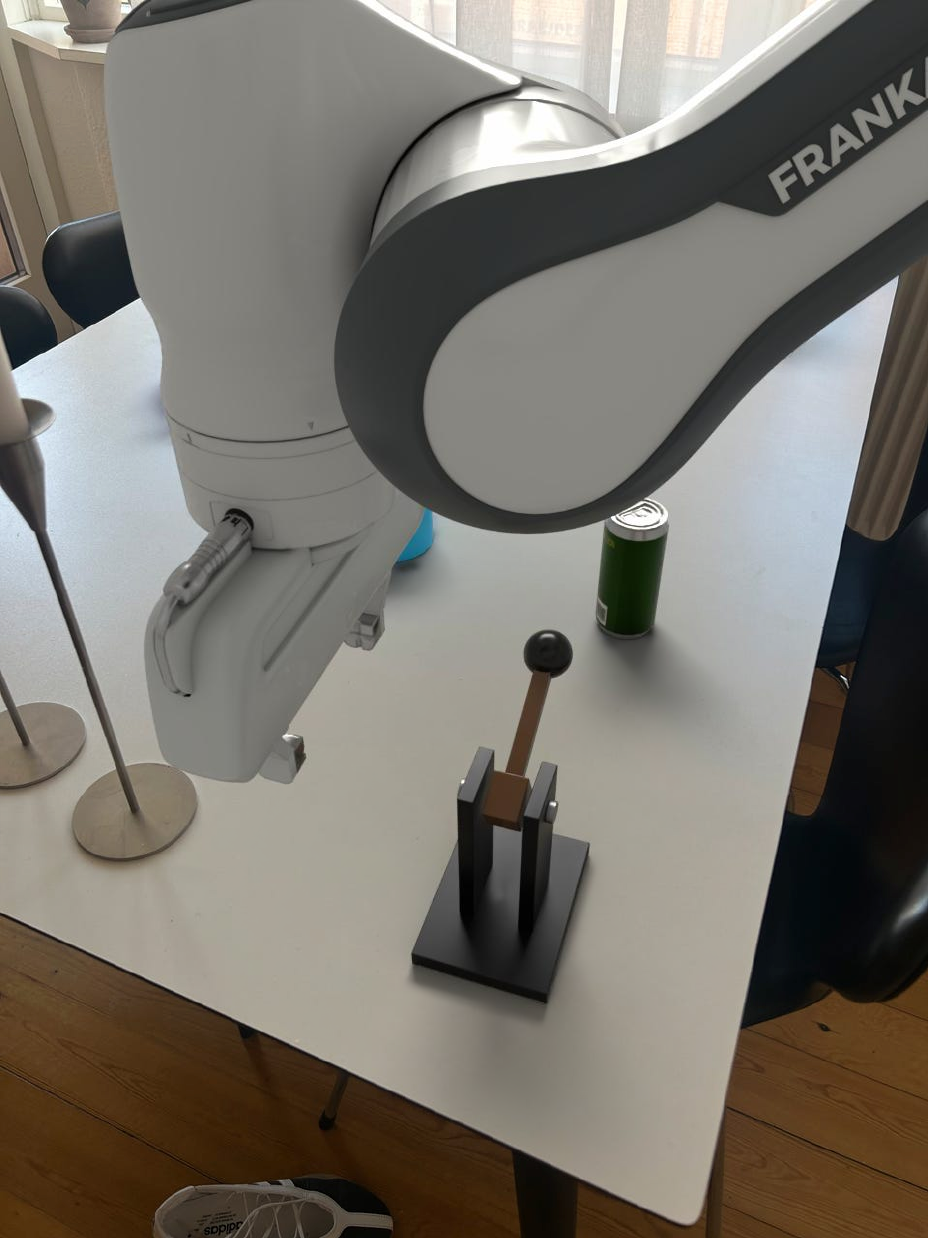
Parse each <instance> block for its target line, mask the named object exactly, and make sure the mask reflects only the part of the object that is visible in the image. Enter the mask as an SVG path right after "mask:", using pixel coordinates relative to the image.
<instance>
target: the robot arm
mask: <svg viewBox="0 0 928 1238" xmlns="http://www.w3.org/2000/svg"><path fill="white" fill-rule="evenodd" d="M103 63H104V65H103V97H104V98H103V99H104V110H105V111H104V112H105V122H106V130H107V140H108V147H109V154H110V160H111V168H112V174H113V180H114V187H115V193H116V197H117V203H118V209H119V215H120V219H121V224H122V229H123V230H122V231H123V234H124V239H125V245H126V249H127V254H128V260H129V263H130V268H131V273H132V276H133V281H134V286H135V288H136V291H137V293H138V295H139V298H140V300H141V302H142V303H143V305H144V307H145V308H146V311H147V312H148V315H149V316H150V318H151V320H152V322H153V324H154V326H155V329H156V332H157V335H158V338H159V342H160V350H161V368H160V369H161V371H160V381H159V382H160V383H159V388H160V396H161V402H162V406H163V410H164V415H165V419H166V423H167V427H168V431H169V437H170V441H171V445H172V449H173V454H174V457H175V463H176V466H177V471H178V475H179V479H180V485H181V488H182V492H183V497H184V500H185V501H184V502H185V507H186V508H187V511H188V514H189V515H190V517H191V518H192V520H193V521H194V522H195V523H196V524H197V526H199V527H200V528H201V529H202V530H203V531H205V532H207V533H208V534H207V535H206V536H205V538H204V539H203V540H202V541H201V543H200V544H199V545H198V547H197V548H196V550H195V551H194V553H193V554H192V555H190V557H189V558H188V559H187V560H185V561H183V562H182V563H180V564H179V565H178V566H177V567H176V568H175V569H174V570H173V571H172V572H171V574H170V575H169V577H168V578H167V580H166V581H165V582H164V585H163V587H162V592H163V593H162V594H161V595H160V597H159V599H158V600H157V601H156V603H155V605H154V606H153V608H152V610H151V612H150V614H149V615H148V619H147V623H146V626H145V632H144V637H143V638H144V639H143V659H144V670H145V678H146V680H145V681H146V686H147V693H148V699H149V705H150V712H151V717H152V721H153V722H152V723H153V725H154V727H153V728H154V731H155V736H156V740H157V743H158V747H159V748H158V749H159V751H160V754H161V756H162V758H163V760H164V761H165V762H166V763H167V764H168V765H170V766H171V767H173V768H175V769H177V770H180V771H182V772H185V773H187V774H191V775H193V776H197V777H201V778H205V779H209V780H213V781H218V782H222V783H223V782H224V783H231V784H233V783H235V784H236V783H237V784H246V783H249V782H251V781H252V780H253V779H254V778H255V777H257V776H258V775H259V776H260V777H262V778H263V779H265V780H268V781H273V782H277V783H280V784H284V785H290V784H292V783H293V782H294V780H295V778H296V776H297V775H298V774H299V772H300V770H301V768H302V766H303V764H304V763H305V762H306V759H307V753H306V752H305V742H304V736H301V735H298V734H295V733H290V732H289V733H288V731H289V728H290V725H291V723H292V722H293V720H294V719H295V717H296V715H297V714H298V712H299V711H300V710H301V708H302V706H303V705H304V703H305V702H306V700H307V699H308V697H309V696H310V694H311V692H312V691H313V689H314V688H315V687H316V685H317V683H318V682H319V681H320V679H321V678H322V676H323V674H324V673H325V671H326V669H327V668H328V666H329V665H330V664H331V662H332V661H333V659H334V658H335V656H336V654H337V652H338V651H339V650H340V648H341V647H342V645H343V644H344V643H345V645H347V646H348V647H350V648H353V649H357V648H360V649H362V651H368V652H370V651H372V650H374V648H375V647H376V645H377V644H378V642H379V640H380V639H381V637H382V636H383V634H384V632H385V631H386V629H385V628H386V627H385V614H384V608H385V606H386V601H387V596H388V592H389V587H390V583H391V578H392V574H393V570H392V569H393V567H394V565H395V564H396V563H397V562H396V561H397V559H398V558H399V556H400V555H401V553H402V552H403V550H404V549H405V547H406V545H407V544H408V542H409V541H410V539H411V538H412V536H413V535H414V533H415V532H416V531H417V529H418V528H419V526H420V523H421V521H422V517H423V514H424V510H425V508H427V509H429V510H430V511H432V513H435V514H436V515H439V516H440V517H443V518H445V519H448V520H451V521H452V522H455V523H459V524H461V525H464V526H468V527H472V528H476V529H479V530H484V531H489V532H495V533H502V534H510V535H511V534H512V535H513V534H514V535H544V534H555V533H560V532H565V531H571V530H576V529H580V528H584V527H587V526H591V525H594V524H597V523H600V522H603V521H605V519H608V518H610V517H613V516H615V515H617V514H619V513H621V512H623V511H625V510H627V509H629V508H631V507H632V506H634V505H636V504H637V503H639V502H641V501H642V500H644V499H645V498H648V497H650V496H651V495H652V494H654V493H655V492H656V491H657V490H659V489H660V488H661V487H663V486H664V485H665V484H666V483H667V482H668V481H669V480H671V479H672V478H673V477H674V476H675V475H677V473H678V472H679V471H680V470H681V469H682V468H683V467H684V466H685V465H686V464H687V463H688V462H689V461H690V460H691V459H692V458H693V457H694V455H695V454H696V453H697V452H698V451H699V450H700V449H701V448H702V446H703V445H704V444H705V443H706V442H707V440H709V438H710V437H711V436H712V435H713V433H714V432H715V431H716V430H717V429H718V428H719V426H721V424H723V422H724V421H725V420H726V418H727V417H728V416H729V415H730V414H731V412H733V410H734V409H735V408H736V407H737V406H738V405H739V404H740V403H741V402H742V400H744V398H745V397H746V396H747V395H748V394H749V393H750V392H751V391H752V390H753V389H754V388H755V387H756V386H757V385H758V384H759V383H760V382H761V381H762V380H763V379H764V378H765V377H766V376H767V375H768V374H769V373H770V372H771V371H773V370H774V369H775V368H776V367H777V366H778V365H779V364H780V363H782V361H784V360H785V359H786V358H788V357H789V356H790V355H791V354H792V353H793V352H795V351H796V350H797V349H798V348H800V347H801V346H802V345H803V344H804V343H806V342H808V341H809V340H810V339H811V338H812V337H814V336H815V335H816V334H818V333H819V332H820V331H822V330H823V329H825V328H826V327H828V326H829V325H830V324H832V323H833V322H834V321H836V320H837V319H839V318H840V317H842V316H843V315H844V314H846V313H847V312H848V311H850V310H852V309H853V308H854V307H856V306H858V304H860V303H861V302H863V301H864V300H866V299H867V298H868V297H870V296H872V295H873V294H874V293H876V292H877V291H878V290H880V289H881V288H883V287H885V286H886V285H887V284H889V283H890V282H892V281H893V280H894V279H896V278H897V277H899V276H901V275H902V274H903V273H905V272H906V271H908V270H909V269H910V268H912V267H913V266H914V265H916V264H917V263H919V262H920V261H922V260H924V258H926V257H928V0H815V1H814V2H813V3H811V4H810V5H808V6H807V7H806V8H805V9H804V10H802V11H801V12H800V13H798V14H797V15H796V16H794V17H793V18H792V19H791V20H789V21H788V22H786V24H784V25H782V27H780V28H779V29H778V30H777V31H776V32H774V33H773V34H772V35H770V36H769V37H768V38H766V39H765V40H763V42H761V43H760V44H759V45H758V46H756V47H755V48H753V50H751V51H750V52H748V53H747V54H746V55H745V56H743V57H742V58H741V59H740V60H738V61H737V62H735V63H734V64H733V65H731V67H730V68H728V69H726V71H724V72H723V73H721V74H720V75H719V76H718V77H717V78H715V79H714V80H713V81H712V82H710V83H709V84H708V85H706V86H705V87H704V88H702V89H701V90H699V91H698V92H697V93H696V94H695V95H694V96H692V97H691V98H690V99H688V100H687V101H686V102H685V103H683V104H682V105H680V106H679V107H677V109H675V110H673V112H671V113H670V114H668V115H666V116H665V117H663V118H662V119H659V120H658V121H656V122H655V123H653V124H651V125H649V126H647V127H644V128H643V129H640V130H638V131H636V132H633V133H630V134H628V135H627V134H626V132H625V131H624V130H623V128H622V127H621V125H620V124H619V123H618V122H617V121H616V120H615V118H614V117H613V116H612V115H611V114H610V112H608V111H607V109H605V108H604V107H603V106H602V105H601V104H600V103H598V102H597V101H596V100H595V99H593V98H592V97H591V96H589V95H588V94H586V93H584V92H583V91H581V90H579V89H578V88H575V87H573V86H571V85H569V84H567V83H564V82H561V81H558V80H554V79H551V78H547V77H544V76H540V75H537V74H534V73H531V72H527V71H525V70H521V69H517V68H514V67H511V66H508V65H506V64H502V63H500V62H496V61H493V60H491V59H488V58H485V57H483V56H480V55H478V54H475V53H472V52H470V51H468V50H465V49H463V48H461V47H460V46H457V45H454V44H453V43H450V42H449V41H447V40H445V39H443V38H441V37H439V36H437V35H435V34H434V33H431V32H430V31H428V30H427V29H424V28H422V27H420V26H419V25H417V24H416V23H414V22H413V21H410V20H409V19H407V18H405V16H403V15H401V14H399V13H398V12H396V11H395V10H393V9H391V8H390V7H388V6H387V5H386V4H384V2H383V3H382V1H380V0H142V1H141V2H140V3H139V4H138V5H136V6H135V7H134V8H133V9H131V10H130V12H129V13H128V14H127V15H126V16H124V18H123V19H122V20H121V21H120V23H119V24H118V25H117V26H116V28H115V29H114V34H113V35H112V36H111V38H110V40H109V41H108V43H107V46H106V49H105V55H104V62H103Z"/></svg>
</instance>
